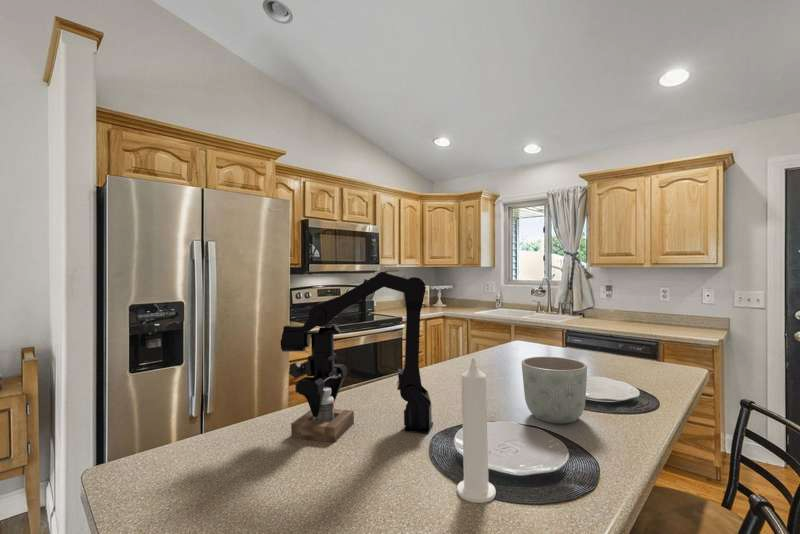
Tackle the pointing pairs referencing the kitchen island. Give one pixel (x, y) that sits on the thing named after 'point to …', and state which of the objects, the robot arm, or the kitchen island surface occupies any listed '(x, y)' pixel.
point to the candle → (475, 438)
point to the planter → (555, 388)
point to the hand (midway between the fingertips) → (323, 410)
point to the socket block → (322, 426)
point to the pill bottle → (326, 407)
